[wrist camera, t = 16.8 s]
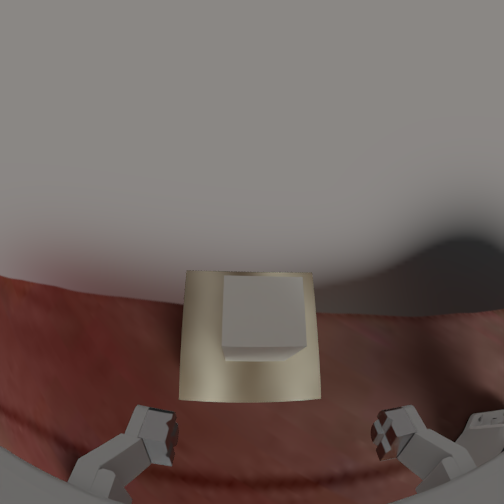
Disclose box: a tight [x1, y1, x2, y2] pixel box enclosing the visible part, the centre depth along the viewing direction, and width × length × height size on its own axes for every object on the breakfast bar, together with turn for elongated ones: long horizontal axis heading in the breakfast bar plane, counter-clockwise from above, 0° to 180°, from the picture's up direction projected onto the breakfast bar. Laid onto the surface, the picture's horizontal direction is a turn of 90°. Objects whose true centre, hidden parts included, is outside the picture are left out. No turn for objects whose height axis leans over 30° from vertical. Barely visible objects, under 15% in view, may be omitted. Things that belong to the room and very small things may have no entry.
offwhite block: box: [222, 275, 307, 362], centre depth 20 cm, size 5×4×8 cm
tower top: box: [179, 271, 321, 402], centre depth 27 cm, size 12×12×6 cm
